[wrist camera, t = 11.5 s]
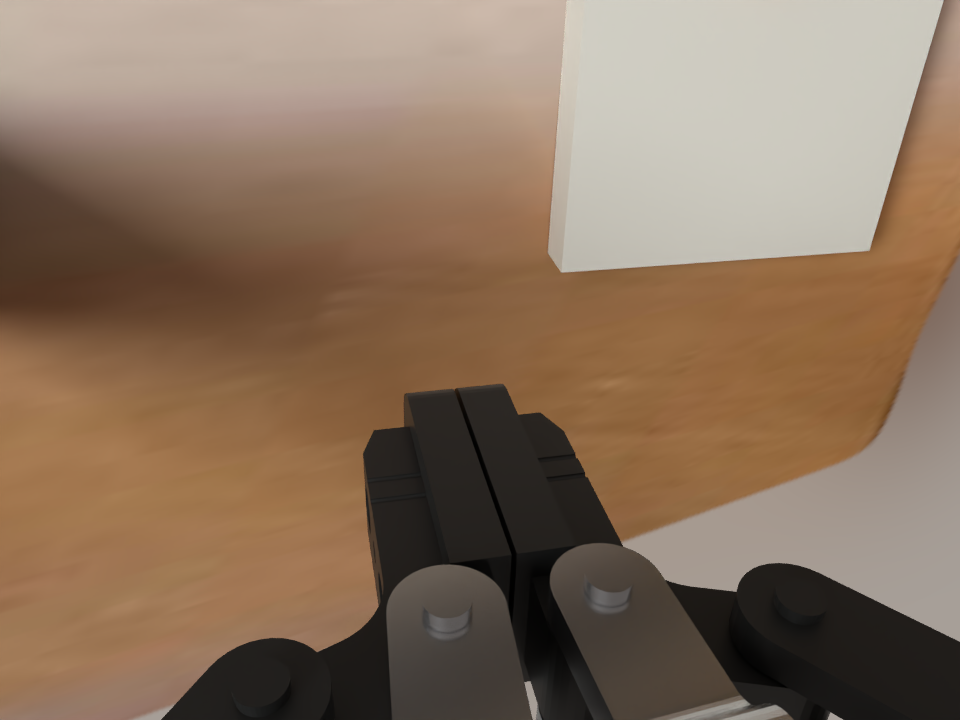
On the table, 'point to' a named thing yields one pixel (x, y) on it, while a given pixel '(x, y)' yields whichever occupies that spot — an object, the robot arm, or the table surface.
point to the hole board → (729, 127)
